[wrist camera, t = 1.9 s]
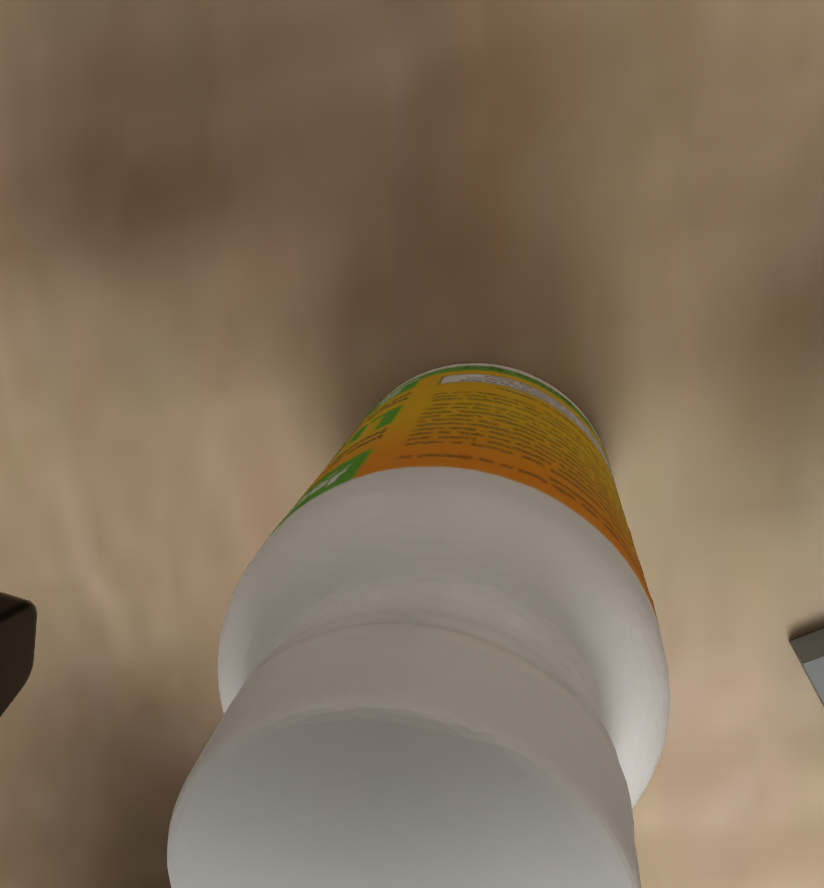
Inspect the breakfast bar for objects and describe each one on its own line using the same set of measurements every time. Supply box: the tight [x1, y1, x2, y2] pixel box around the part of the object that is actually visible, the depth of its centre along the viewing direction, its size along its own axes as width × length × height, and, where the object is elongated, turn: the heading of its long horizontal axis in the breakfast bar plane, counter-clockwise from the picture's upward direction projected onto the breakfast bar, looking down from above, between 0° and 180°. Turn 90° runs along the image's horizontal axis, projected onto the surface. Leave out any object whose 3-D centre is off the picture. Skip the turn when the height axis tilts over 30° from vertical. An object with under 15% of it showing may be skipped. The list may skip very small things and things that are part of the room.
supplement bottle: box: [167, 363, 670, 888], centre depth 10 cm, size 5×5×10 cm
